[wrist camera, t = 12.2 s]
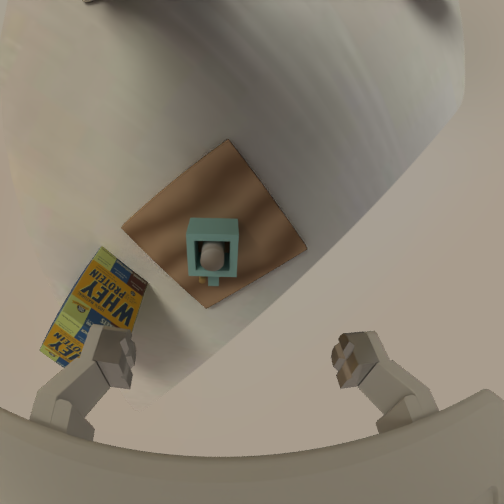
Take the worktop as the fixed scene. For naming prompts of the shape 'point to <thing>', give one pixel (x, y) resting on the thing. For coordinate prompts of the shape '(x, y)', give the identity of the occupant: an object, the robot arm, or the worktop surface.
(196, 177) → the post board
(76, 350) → the protein box
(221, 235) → the teal open cubby box
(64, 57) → the worktop surface
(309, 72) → the worktop surface
